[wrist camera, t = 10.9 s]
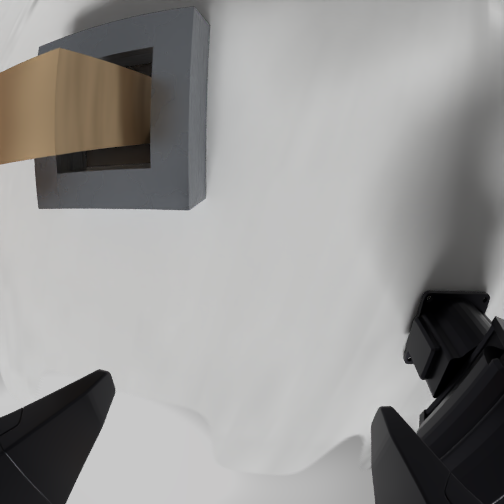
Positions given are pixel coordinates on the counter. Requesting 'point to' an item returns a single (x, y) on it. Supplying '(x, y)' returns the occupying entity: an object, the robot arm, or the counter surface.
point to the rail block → (161, 118)
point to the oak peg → (71, 106)
